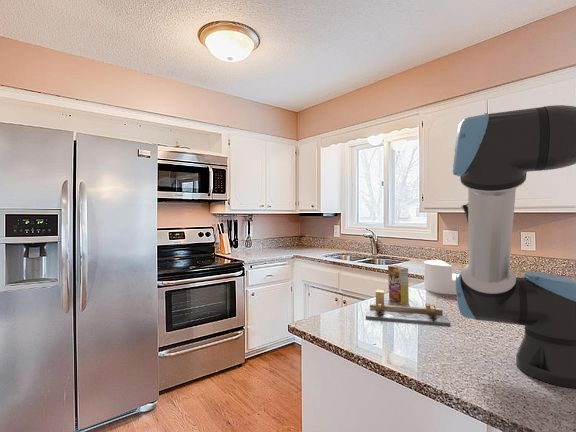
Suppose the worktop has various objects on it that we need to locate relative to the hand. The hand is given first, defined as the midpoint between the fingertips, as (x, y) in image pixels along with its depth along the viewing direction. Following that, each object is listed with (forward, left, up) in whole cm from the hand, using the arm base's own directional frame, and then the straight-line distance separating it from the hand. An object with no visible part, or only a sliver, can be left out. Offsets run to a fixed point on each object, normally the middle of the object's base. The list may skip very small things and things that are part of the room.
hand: (483, 255), depth 107 cm
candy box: (+27, +26, -25) cm, 45 cm away
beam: (+8, +24, -24) cm, 35 cm away
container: (+57, +3, -25) cm, 62 cm away
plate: (+5, +24, -24) cm, 35 cm away
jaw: (+8, +33, -24) cm, 42 cm away
